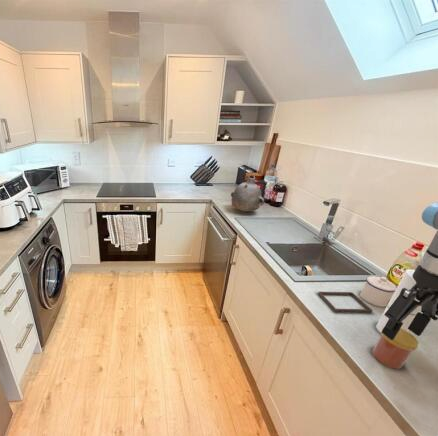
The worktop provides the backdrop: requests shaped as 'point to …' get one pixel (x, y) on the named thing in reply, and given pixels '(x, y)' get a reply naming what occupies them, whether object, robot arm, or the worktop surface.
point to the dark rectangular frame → (366, 310)
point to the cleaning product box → (260, 186)
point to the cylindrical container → (406, 283)
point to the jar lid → (403, 340)
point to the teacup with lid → (378, 291)
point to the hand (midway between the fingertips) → (400, 333)
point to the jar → (390, 353)
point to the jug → (247, 196)
